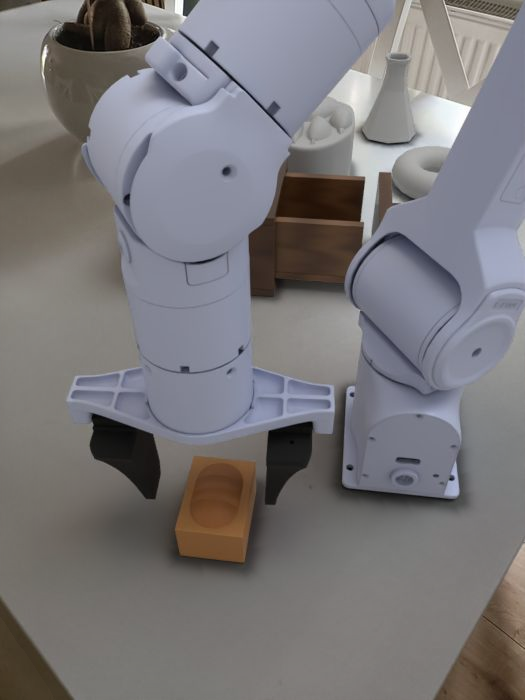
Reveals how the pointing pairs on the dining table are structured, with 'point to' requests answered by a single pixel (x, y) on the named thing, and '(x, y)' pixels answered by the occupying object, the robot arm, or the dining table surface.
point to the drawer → (323, 224)
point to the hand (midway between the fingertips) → (211, 488)
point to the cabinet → (265, 246)
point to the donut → (418, 169)
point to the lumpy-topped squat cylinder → (324, 141)
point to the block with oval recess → (217, 509)
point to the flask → (392, 104)
